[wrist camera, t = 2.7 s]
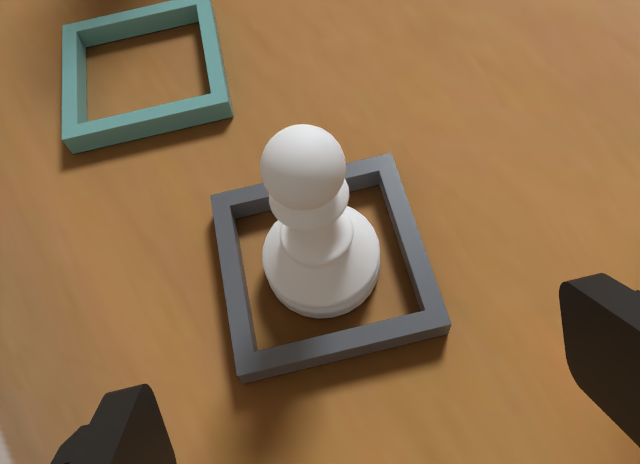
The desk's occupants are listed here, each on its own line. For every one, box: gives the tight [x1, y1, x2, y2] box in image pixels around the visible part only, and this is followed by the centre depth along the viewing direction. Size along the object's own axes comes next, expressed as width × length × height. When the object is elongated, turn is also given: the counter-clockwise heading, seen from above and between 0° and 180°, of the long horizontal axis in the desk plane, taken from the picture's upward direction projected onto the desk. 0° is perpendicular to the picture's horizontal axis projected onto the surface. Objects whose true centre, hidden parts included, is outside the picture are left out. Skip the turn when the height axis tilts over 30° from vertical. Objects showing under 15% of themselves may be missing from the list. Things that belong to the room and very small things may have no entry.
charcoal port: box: [210, 153, 451, 384], centre depth 25 cm, size 9×9×1 cm
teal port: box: [62, 0, 234, 154], centre depth 32 cm, size 9×9×1 cm
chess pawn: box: [260, 124, 380, 319], centre depth 22 cm, size 5×5×9 cm
